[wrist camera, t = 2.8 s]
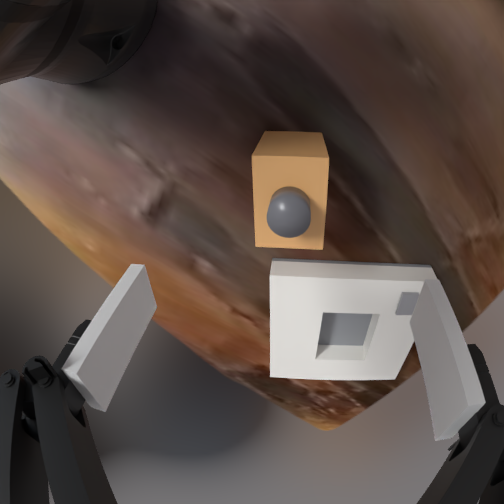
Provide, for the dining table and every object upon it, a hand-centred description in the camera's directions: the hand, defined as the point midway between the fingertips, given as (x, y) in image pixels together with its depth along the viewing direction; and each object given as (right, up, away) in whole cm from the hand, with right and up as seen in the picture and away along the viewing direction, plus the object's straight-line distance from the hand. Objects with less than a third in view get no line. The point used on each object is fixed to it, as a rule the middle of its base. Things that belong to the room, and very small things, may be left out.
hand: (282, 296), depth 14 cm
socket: (+10, -7, +23) cm, 26 cm away
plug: (+2, +10, +14) cm, 17 cm away
